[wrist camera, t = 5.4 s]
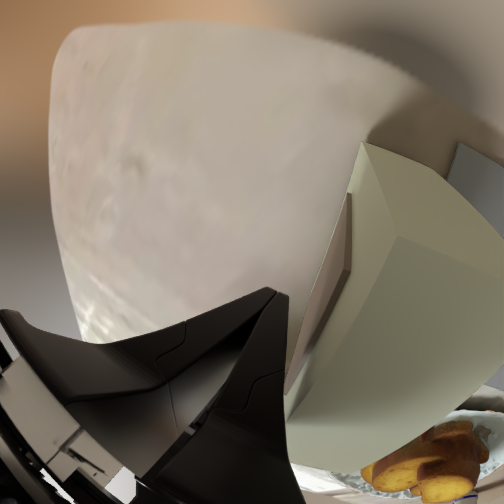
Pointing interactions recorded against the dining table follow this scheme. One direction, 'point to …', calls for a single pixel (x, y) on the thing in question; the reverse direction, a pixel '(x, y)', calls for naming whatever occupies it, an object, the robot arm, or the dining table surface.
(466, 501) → the beverage can
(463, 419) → the food on plate
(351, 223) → the sage block
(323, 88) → the dining table surface
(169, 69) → the dining table surface
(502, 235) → the mat
